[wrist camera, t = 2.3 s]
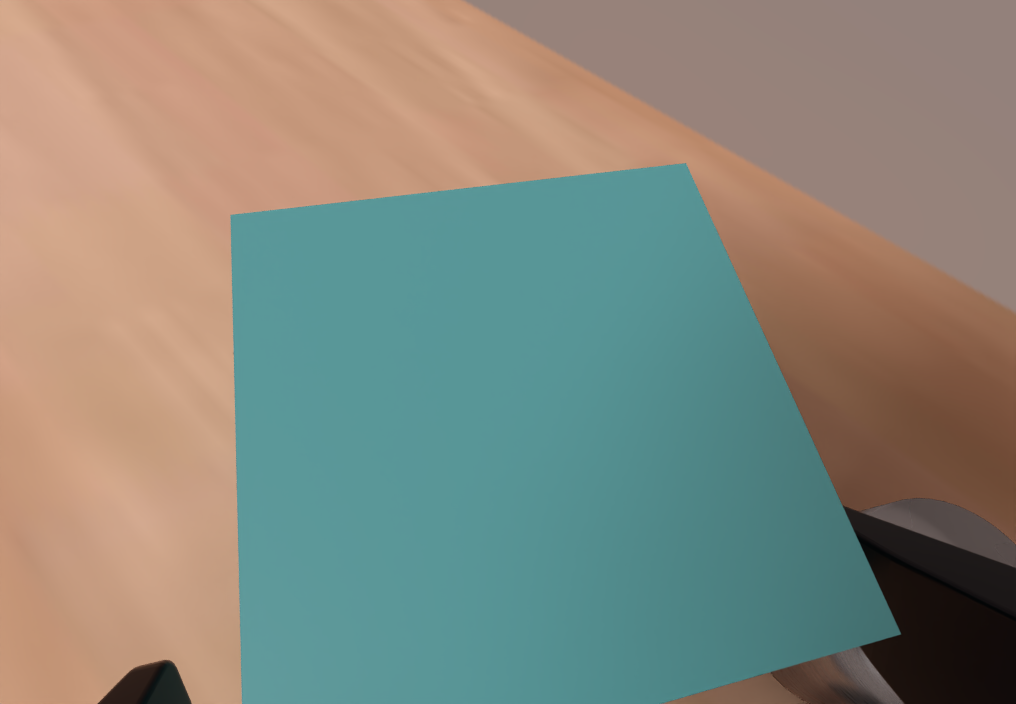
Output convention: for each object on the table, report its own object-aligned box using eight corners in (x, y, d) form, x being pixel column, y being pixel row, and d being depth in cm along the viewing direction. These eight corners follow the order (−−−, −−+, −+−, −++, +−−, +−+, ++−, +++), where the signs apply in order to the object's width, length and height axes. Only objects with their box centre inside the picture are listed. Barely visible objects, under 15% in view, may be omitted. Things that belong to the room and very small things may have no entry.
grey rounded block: (935, 625, 17) (1108, 628, 12) (842, 755, 15) (1001, 812, 11) (806, 496, 18) (919, 457, 14) (708, 601, 17) (800, 596, 12)
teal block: (578, 620, 16) (901, 635, 4) (405, 665, 15) (244, 825, 4) (536, 454, 18) (685, 163, 6) (382, 485, 17) (231, 215, 6)
